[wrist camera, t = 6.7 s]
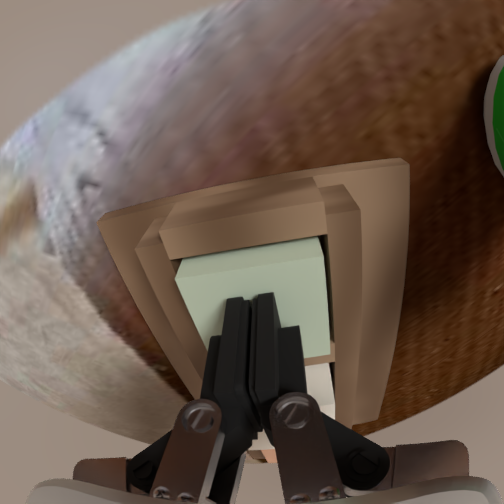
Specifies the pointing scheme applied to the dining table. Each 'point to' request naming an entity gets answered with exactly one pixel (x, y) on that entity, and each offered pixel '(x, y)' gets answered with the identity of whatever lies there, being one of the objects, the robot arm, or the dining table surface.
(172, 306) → the long wooden tray
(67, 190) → the dining table surface
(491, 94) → the soda can
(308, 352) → the green block
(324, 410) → the tile
